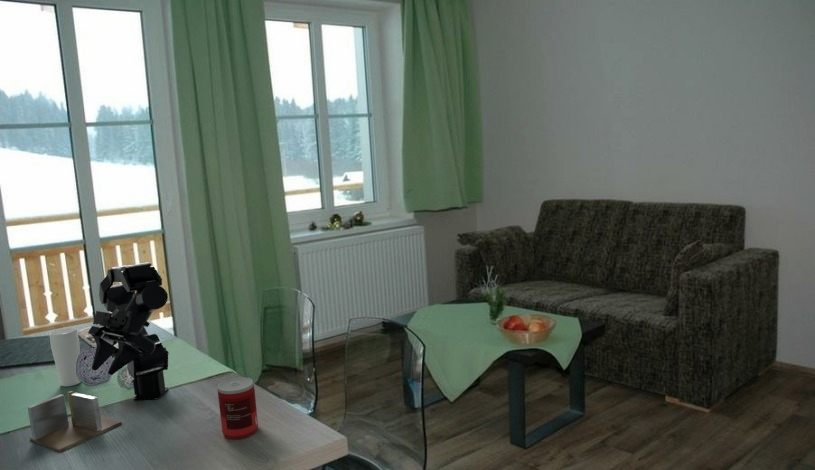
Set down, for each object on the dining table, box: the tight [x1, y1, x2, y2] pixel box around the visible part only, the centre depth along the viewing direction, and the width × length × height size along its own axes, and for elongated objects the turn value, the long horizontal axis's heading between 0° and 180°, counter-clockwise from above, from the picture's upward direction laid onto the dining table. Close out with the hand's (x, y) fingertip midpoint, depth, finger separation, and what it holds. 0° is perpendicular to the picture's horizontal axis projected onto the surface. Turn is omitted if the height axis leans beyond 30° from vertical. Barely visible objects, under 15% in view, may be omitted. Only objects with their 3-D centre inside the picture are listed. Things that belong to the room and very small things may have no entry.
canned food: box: [217, 376, 259, 440], centre depth 140 cm, size 8×8×11 cm
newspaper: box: [77, 326, 118, 356], centre depth 212 cm, size 35×12×4 cm, turn 40°
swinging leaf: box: [71, 392, 102, 431], centre depth 145 cm, size 8×1×8 cm, turn 62°
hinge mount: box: [27, 390, 122, 453], centre depth 145 cm, size 14×12×9 cm
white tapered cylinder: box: [49, 326, 81, 388], centre depth 175 cm, size 7×7×15 cm
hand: (101, 371), depth 148 cm, fingers open, 6 cm apart
